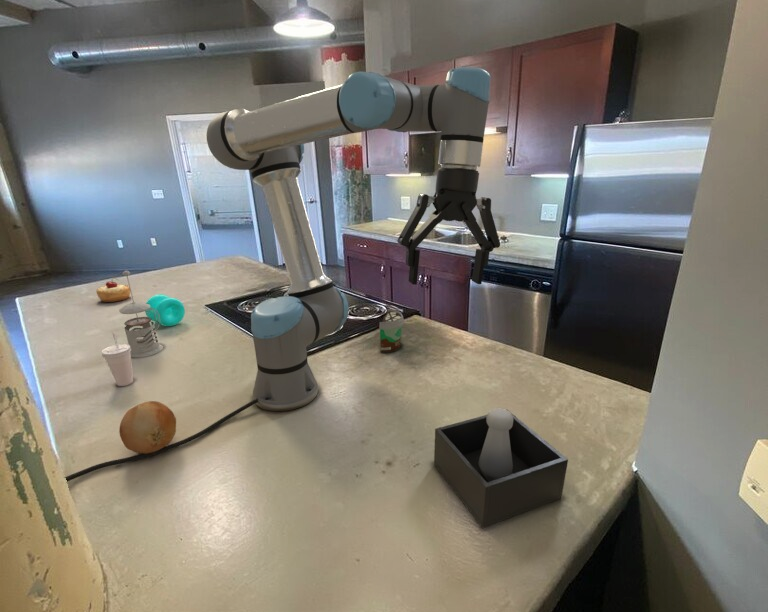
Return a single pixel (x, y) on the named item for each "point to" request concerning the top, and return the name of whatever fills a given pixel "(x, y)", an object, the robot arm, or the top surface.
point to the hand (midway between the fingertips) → (445, 282)
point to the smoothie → (119, 362)
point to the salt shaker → (497, 446)
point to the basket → (507, 494)
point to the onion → (147, 427)
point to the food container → (391, 331)
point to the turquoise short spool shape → (165, 310)
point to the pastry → (113, 292)
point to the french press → (140, 329)
